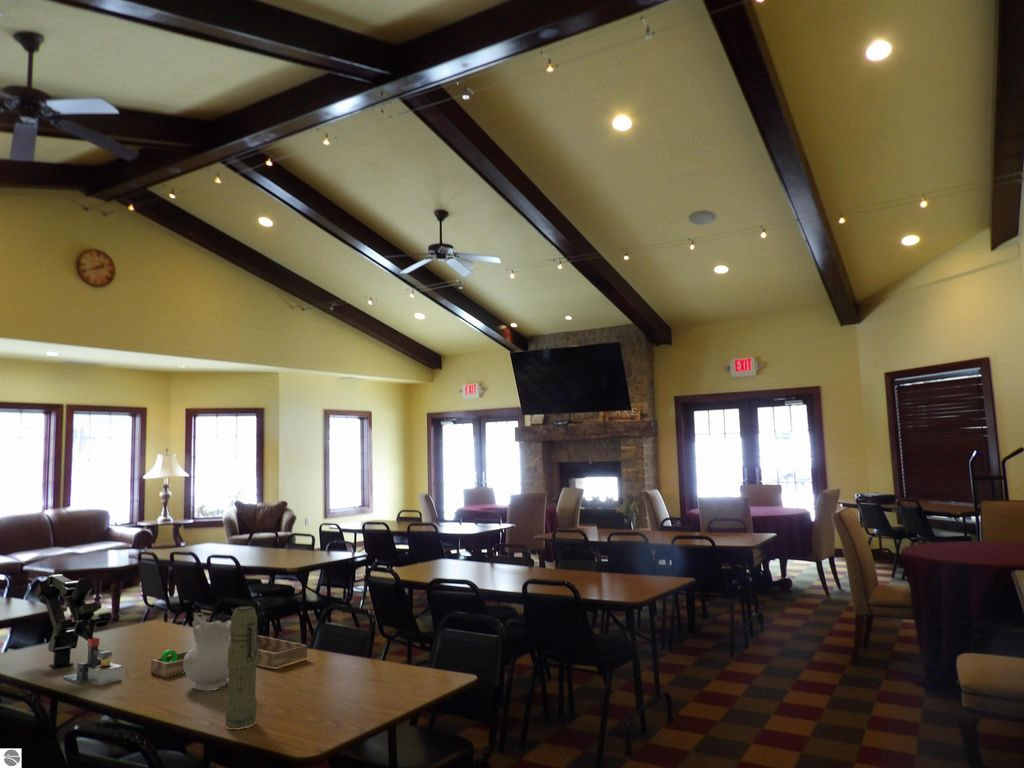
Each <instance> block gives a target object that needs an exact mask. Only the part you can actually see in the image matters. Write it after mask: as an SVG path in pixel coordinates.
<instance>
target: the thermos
mask: <svg viewBox="0 0 1024 768" xmlns="http://www.w3.org/2000/svg"><path fill="white" fill-rule="evenodd" d="M230 618H231V619H230V620H231V634H230V645H229V648H228V664H227V666H228V669H229V678H228V684H227V689H228V691H227V700H226V702H225V715H224V716H225V727H226V726H227V727H229V728H241V727H245V726H249V725H251V724H253V723H254V722H255V721H256V717H257V711H258V710H257V709H258V707H257V705H258V704H257V703H258V701H257V700H258V699H257V697H256V685H257V684H256V683H257V679H256V678H257V667H258V666H257V664H258V644H257V635H258V614H257V612H256V608H255V607H253V606H252V605H242V606H238V607H236V608H234V610H233V612H232V615H231V617H230Z"/></svg>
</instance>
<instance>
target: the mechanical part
mask: <svg viewBox="0 0 1024 768" xmlns="http://www.w3.org/2000/svg"><path fill="white" fill-rule="evenodd" d="M177 654H178V653H177V651H175V650H173V649H169V648H168V649H166V650H164V651H163V652H162V653H161V656H160V658H161V661H162V662H166V663H171V662H175V661H177ZM169 655H172V658H171V660H169V661H167V660H166V658H167V656H169Z"/></svg>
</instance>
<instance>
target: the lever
mask: <svg viewBox="0 0 1024 768" xmlns="http://www.w3.org/2000/svg"><path fill="white" fill-rule="evenodd" d="M99 645H100V637H96V636H93V638H89V639H88V641H87V661H84V662H85V663H88V669H89V667H94V666H98V665H100V664H99V663H97V658H102V659H103V658H108V657H110V658H111V657H112V656H113V655H112V653H113V652H112V651H111V650H103V649H99ZM88 669H87V673H88Z"/></svg>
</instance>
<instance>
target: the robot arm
mask: <svg viewBox="0 0 1024 768" xmlns="http://www.w3.org/2000/svg"><path fill="white" fill-rule="evenodd" d="M92 590H93V583H92V582H91V581H90V580H88V579H87V580H86V579H85V578H84V577H83V578H79V579H78V580H71V579H69V578H67V577H65V576H64V575H63V574H60V573H57V574H49V575H47V577H46V579H45V580H43V581H42V582H39V584H38V585H37V588H36V590H35V595H36V597H37V599H38V601H39V603H42V604H43V605H45V607H46V609H47V612H48V615H49V618H50V621H51V624H52V627H53V630H54V631H53V634H52V637H51V640H50V641H49V643H48V652H51V653H53V659H52V663H50V664H49V665H48V666H49V667H51V666H52V668H54V667H56V668H55V669H59V667H60V668H64V667H63V666H65V667H69V666H73V665H74V662H71V653H72V651H71V650H72V649H76V648H77V646H78V642H79V637H81V638H82V639H84V640H85V641H87V642H88V639H89V638H94V629H95V627H96V628H98V629H99V628H104V627H107V626H108V625H109V623H110V621H111V620H112V619H113V615H112V613H111V612H102V613H99V614H98V616H97V617H94V616H95V612H98V611H99V610H100V609H102V602H101V601H100V600H95V601H94V602H89V603H86V600H87V599H88V598H89V596H90V594H91V592H92ZM60 596H62V597H63V598H67V600H66V605H65V607H66V608H68V609H69V612H70V616H69V618H68V619H67V618H66V615H65V612H64V609H63V606H62V604H61V601H60ZM93 617H94V618H93ZM68 665H69V666H68Z"/></svg>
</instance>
